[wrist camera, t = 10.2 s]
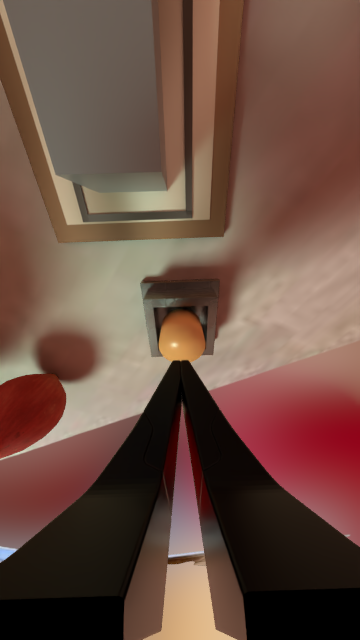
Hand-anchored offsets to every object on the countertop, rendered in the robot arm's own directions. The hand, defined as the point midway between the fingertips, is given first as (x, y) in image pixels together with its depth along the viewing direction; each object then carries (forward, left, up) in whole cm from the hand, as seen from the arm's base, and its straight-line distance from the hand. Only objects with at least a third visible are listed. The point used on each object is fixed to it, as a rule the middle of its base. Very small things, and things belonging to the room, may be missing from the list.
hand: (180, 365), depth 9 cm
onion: (-14, -7, -6) cm, 17 cm away
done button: (0, 0, -4) cm, 4 cm away
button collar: (0, 0, -6) cm, 6 cm away
